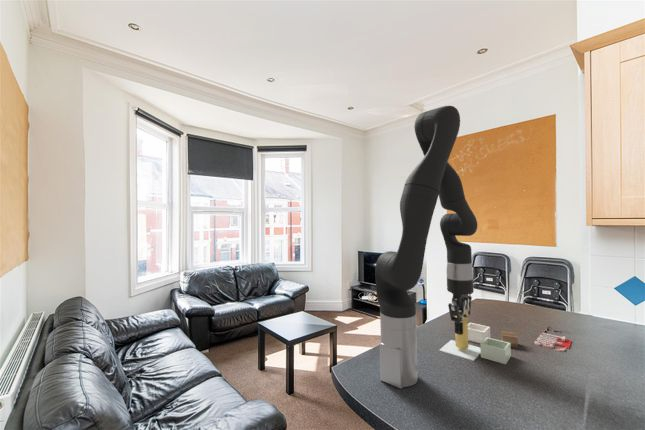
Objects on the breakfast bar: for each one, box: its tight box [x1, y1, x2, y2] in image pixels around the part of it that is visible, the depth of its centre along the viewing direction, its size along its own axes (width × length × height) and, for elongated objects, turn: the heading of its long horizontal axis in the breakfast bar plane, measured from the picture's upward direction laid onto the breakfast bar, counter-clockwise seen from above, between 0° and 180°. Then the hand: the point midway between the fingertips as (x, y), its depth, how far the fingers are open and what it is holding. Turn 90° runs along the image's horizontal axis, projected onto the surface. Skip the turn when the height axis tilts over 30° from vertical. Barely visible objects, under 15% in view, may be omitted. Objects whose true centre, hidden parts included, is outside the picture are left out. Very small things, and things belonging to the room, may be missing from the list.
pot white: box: [468, 322, 491, 344], centre depth 99 cm, size 6×6×4 cm
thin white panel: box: [439, 339, 481, 362], centre depth 91 cm, size 10×10×1 cm
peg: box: [454, 316, 469, 349], centre depth 91 cm, size 4×4×9 cm
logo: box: [534, 325, 573, 353], centre depth 99 cm, size 25×2×10 cm
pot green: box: [479, 337, 512, 365], centre depth 86 cm, size 6×6×4 cm
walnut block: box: [500, 330, 519, 349], centre depth 94 cm, size 4×4×4 cm
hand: (461, 331), depth 91 cm, fingers closed on peg, 3 cm apart
